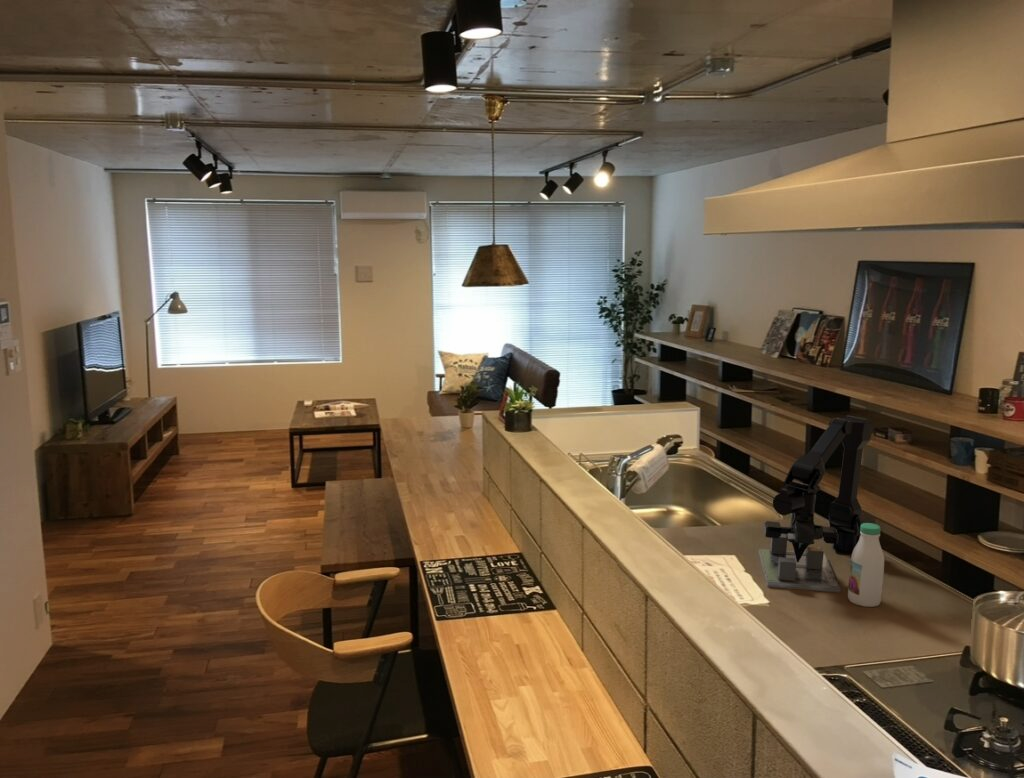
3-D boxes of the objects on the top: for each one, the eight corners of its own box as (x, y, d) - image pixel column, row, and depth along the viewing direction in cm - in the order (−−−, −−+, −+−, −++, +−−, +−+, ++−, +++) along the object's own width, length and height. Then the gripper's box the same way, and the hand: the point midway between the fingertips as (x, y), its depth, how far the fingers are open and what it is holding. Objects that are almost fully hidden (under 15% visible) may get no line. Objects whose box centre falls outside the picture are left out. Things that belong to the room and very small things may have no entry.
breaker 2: (793, 576, 222) (794, 558, 221) (794, 580, 219) (796, 562, 218) (777, 574, 223) (778, 557, 222) (779, 579, 220) (780, 561, 219)
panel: (824, 557, 238) (824, 552, 238) (839, 592, 216) (840, 587, 216) (758, 553, 242) (759, 548, 241) (767, 586, 219) (767, 581, 219)
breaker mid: (820, 565, 229) (821, 547, 228) (822, 569, 226) (823, 551, 225) (805, 564, 230) (806, 546, 229) (806, 568, 227) (808, 550, 226)
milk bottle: (881, 597, 213) (888, 523, 209) (880, 610, 206) (887, 533, 202) (848, 592, 216) (854, 518, 213) (846, 604, 210) (853, 528, 206)
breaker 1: (784, 550, 240) (785, 533, 239) (786, 554, 237) (787, 537, 236) (770, 549, 240) (771, 532, 239) (771, 553, 237) (772, 536, 236)
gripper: (770, 514, 220) (764, 570, 223) (845, 521, 216) (838, 577, 219) (766, 500, 230) (761, 554, 234) (837, 507, 227) (831, 561, 230)
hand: (797, 561), depth 229 cm, fingers closed
